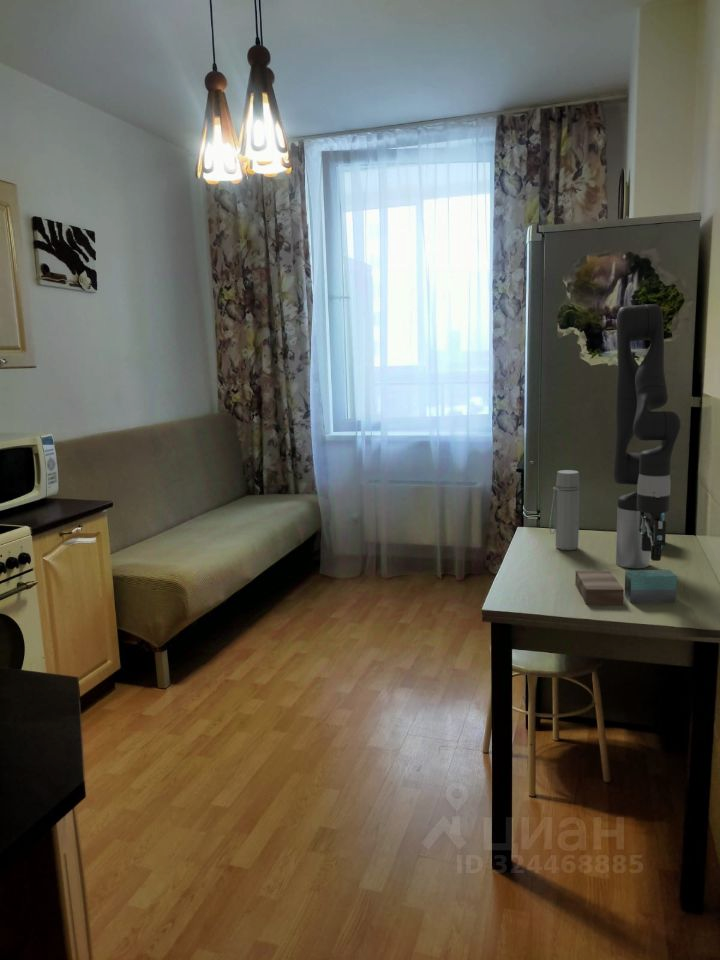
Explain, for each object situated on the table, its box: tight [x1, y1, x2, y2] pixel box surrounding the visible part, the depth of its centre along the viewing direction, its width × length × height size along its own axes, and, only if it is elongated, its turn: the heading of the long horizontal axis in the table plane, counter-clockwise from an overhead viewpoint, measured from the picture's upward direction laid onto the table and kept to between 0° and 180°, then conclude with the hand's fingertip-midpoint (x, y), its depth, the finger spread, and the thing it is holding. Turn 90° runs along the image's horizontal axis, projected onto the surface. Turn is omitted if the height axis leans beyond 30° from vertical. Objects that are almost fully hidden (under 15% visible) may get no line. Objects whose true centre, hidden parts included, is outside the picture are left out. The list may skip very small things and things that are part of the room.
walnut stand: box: [574, 570, 625, 606], centre depth 178 cm, size 15×9×4 cm, turn 172°
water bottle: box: [548, 469, 581, 551], centre depth 218 cm, size 9×8×25 cm
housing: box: [624, 569, 678, 604], centre depth 173 cm, size 5×11×7 cm, turn 85°
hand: (650, 555), depth 171 cm, fingers open, 8 cm apart
